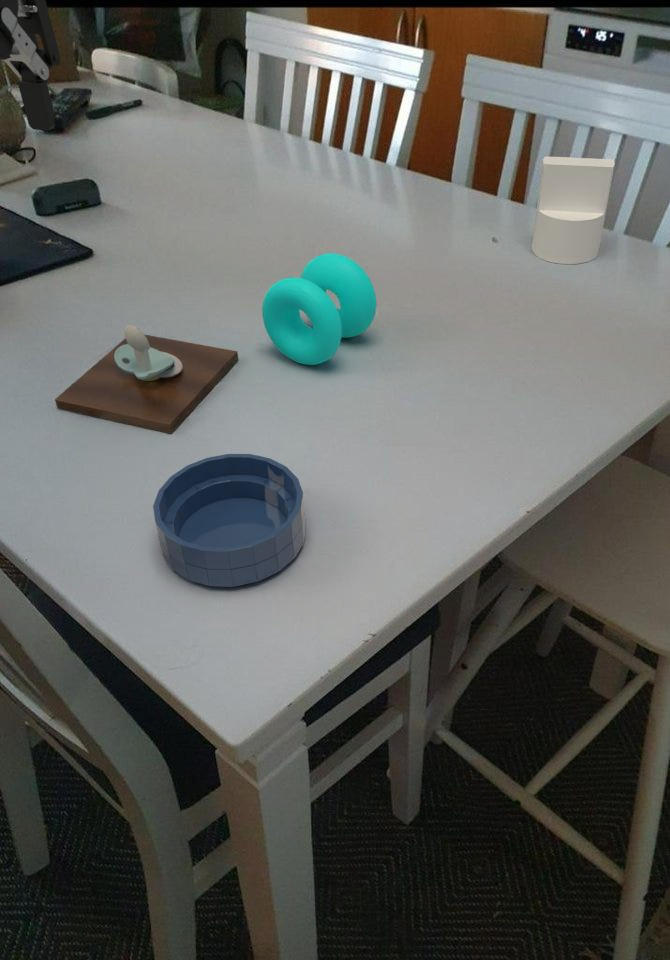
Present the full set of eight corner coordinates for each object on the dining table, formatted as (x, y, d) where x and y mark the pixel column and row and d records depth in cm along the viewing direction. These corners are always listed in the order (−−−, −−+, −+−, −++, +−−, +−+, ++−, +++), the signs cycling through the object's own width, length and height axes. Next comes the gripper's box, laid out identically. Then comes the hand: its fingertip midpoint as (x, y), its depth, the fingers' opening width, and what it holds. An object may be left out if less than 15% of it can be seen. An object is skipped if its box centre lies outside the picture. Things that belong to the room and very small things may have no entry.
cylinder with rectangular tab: (529, 261, 109) (541, 172, 102) (533, 235, 116) (544, 148, 108) (598, 266, 108) (615, 175, 100) (598, 239, 114) (614, 151, 107)
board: (171, 434, 82) (169, 424, 81) (57, 408, 86) (54, 399, 85) (238, 360, 92) (237, 351, 92) (134, 340, 97) (132, 331, 96)
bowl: (268, 607, 63) (263, 567, 61) (135, 569, 67) (124, 529, 64) (326, 509, 72) (324, 470, 69) (206, 480, 76) (199, 442, 73)
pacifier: (153, 350, 92) (110, 371, 89) (144, 300, 89) (99, 320, 85) (196, 371, 89) (153, 394, 85) (189, 320, 85) (143, 341, 81)
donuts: (381, 340, 95) (381, 259, 88) (333, 380, 88) (329, 296, 82) (311, 319, 99) (307, 241, 93) (261, 355, 93) (252, 274, 87)
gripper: (-31, -110, 61) (28, 116, 72) (-185, -91, 51) (-91, 169, 62) (50, -111, 59) (99, 123, 69) (-95, -91, 49) (-13, 178, 59)
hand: (9, 144), depth 66 cm, fingers open, 8 cm apart
